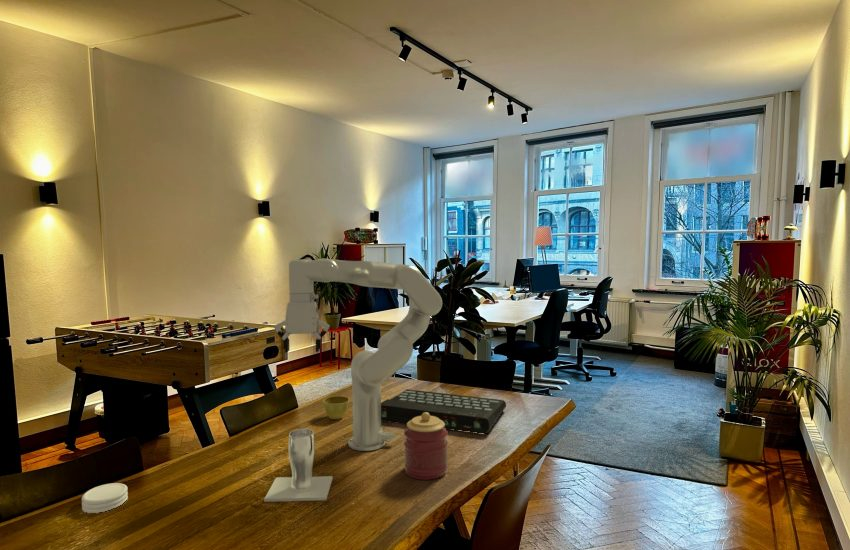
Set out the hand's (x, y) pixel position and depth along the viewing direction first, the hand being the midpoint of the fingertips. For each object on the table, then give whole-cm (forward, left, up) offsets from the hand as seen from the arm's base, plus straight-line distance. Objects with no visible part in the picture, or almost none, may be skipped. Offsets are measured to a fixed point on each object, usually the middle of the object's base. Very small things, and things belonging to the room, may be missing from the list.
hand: (302, 351), depth 157 cm
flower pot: (-6, -33, -34) cm, 48 cm away
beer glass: (-4, +25, -33) cm, 41 cm away
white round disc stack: (+45, +30, -34) cm, 64 cm away
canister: (-39, +15, -34) cm, 53 cm away
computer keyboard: (-48, -34, -34) cm, 67 cm away
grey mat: (-4, +25, -33) cm, 42 cm away
